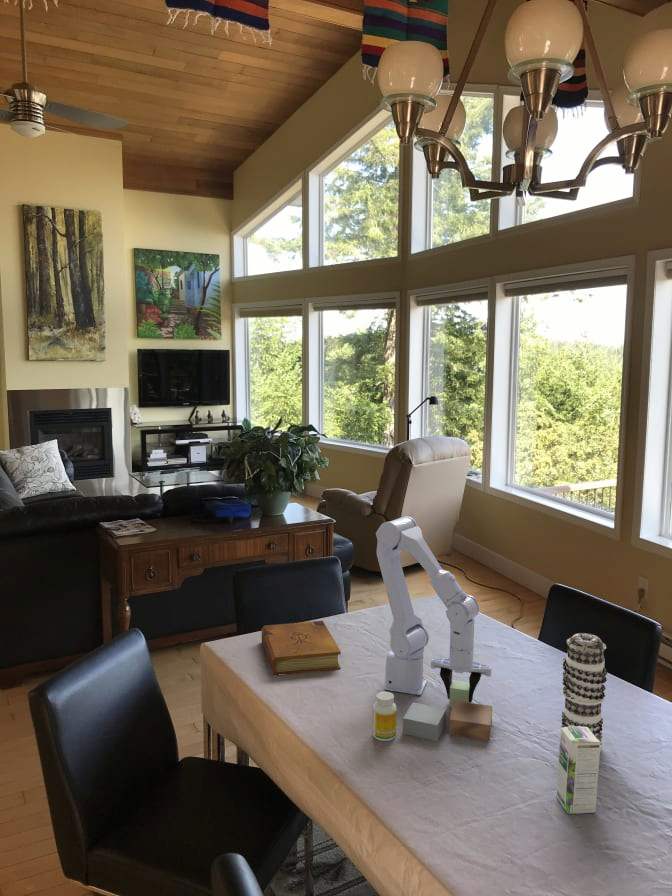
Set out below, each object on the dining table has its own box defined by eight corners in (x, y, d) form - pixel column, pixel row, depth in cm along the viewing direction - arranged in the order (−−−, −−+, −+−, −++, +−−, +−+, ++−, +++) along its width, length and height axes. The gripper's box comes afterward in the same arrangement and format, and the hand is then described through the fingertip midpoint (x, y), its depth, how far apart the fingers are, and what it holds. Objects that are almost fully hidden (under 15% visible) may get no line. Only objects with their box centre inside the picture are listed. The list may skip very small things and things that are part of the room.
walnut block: (448, 735, 160) (449, 719, 159) (453, 716, 168) (453, 700, 168) (489, 741, 157) (490, 725, 157) (491, 721, 166) (492, 705, 165)
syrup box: (555, 796, 137) (558, 726, 135) (584, 794, 138) (588, 725, 136) (567, 815, 132) (570, 742, 130) (597, 813, 132) (601, 741, 130)
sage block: (449, 707, 172) (449, 687, 171) (452, 698, 176) (452, 679, 175) (467, 710, 170) (468, 690, 170) (470, 701, 175) (470, 682, 174)
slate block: (402, 734, 160) (402, 718, 159) (412, 718, 167) (413, 702, 167) (437, 742, 157) (437, 725, 156) (445, 725, 164) (446, 708, 164)
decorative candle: (550, 743, 156) (555, 635, 153) (574, 730, 161) (580, 626, 158) (586, 762, 149) (592, 649, 145) (611, 748, 154) (617, 639, 151)
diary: (261, 644, 211) (261, 625, 210) (322, 638, 215) (322, 620, 214) (272, 677, 188) (272, 656, 188) (340, 670, 193) (340, 650, 192)
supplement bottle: (368, 732, 160) (368, 692, 159) (388, 727, 162) (389, 688, 161) (379, 744, 155) (380, 703, 154) (400, 738, 158) (401, 698, 156)
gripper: (429, 648, 170) (427, 701, 172) (490, 656, 165) (488, 711, 167) (434, 637, 176) (433, 688, 178) (493, 645, 172) (491, 697, 174)
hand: (460, 698), depth 173 cm, fingers closed on sage block, 4 cm apart
